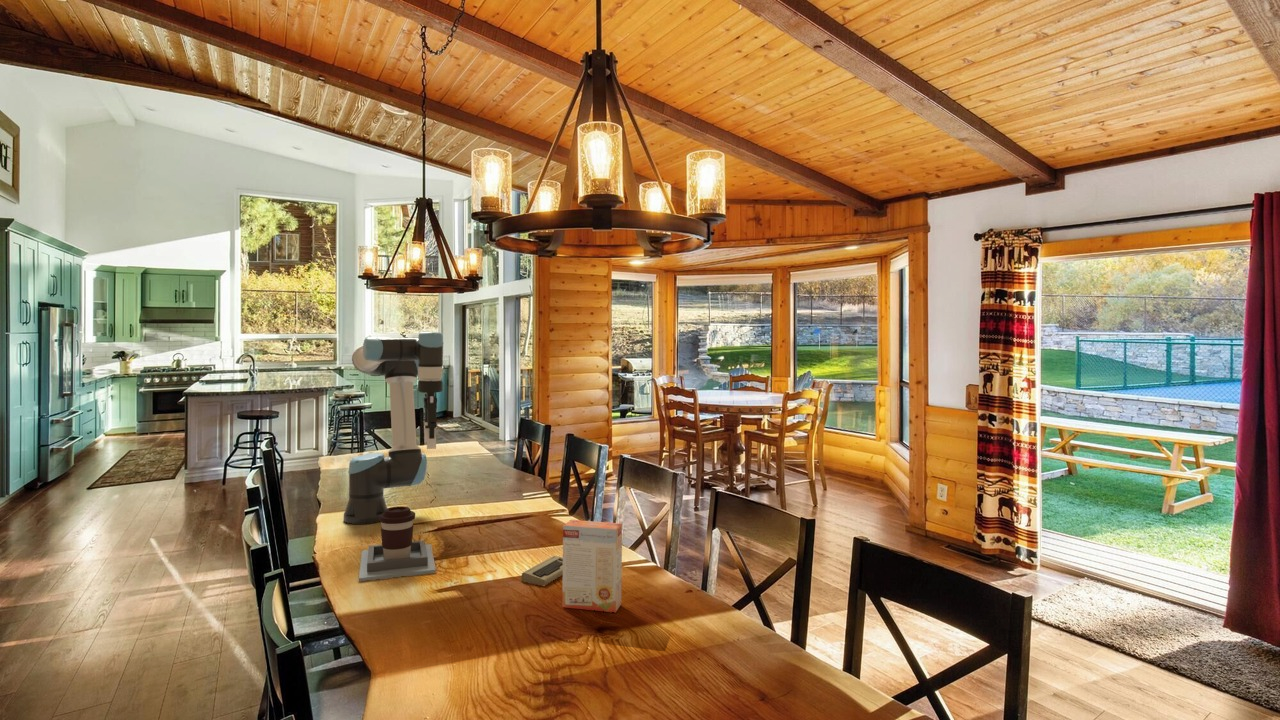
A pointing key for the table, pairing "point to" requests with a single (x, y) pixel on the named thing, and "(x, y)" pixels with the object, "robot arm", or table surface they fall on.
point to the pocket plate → (396, 563)
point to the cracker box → (592, 565)
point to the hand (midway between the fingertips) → (430, 445)
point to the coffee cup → (397, 532)
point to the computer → (544, 571)
